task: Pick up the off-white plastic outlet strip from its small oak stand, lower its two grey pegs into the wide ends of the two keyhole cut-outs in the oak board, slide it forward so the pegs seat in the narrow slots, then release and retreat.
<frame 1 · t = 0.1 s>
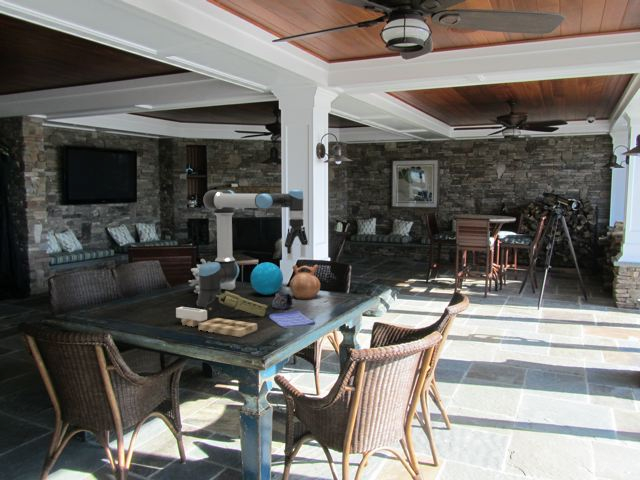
hand: (296, 258, 285), 28 cm above the table, tool pointing down, fingers open, 13 cm apart
stand: (191, 324, 256), on the table
rock: (282, 308, 292), on the table
strip: (191, 323, 256), resting on stand
jug: (305, 297, 320), on the table
board: (227, 330, 246), on the table
handgun: (234, 318, 270), on the table
decorative sphere: (267, 294, 328), on the table
dish towel: (291, 322, 263), on the table
abstract sculpture: (213, 292, 336), on the table
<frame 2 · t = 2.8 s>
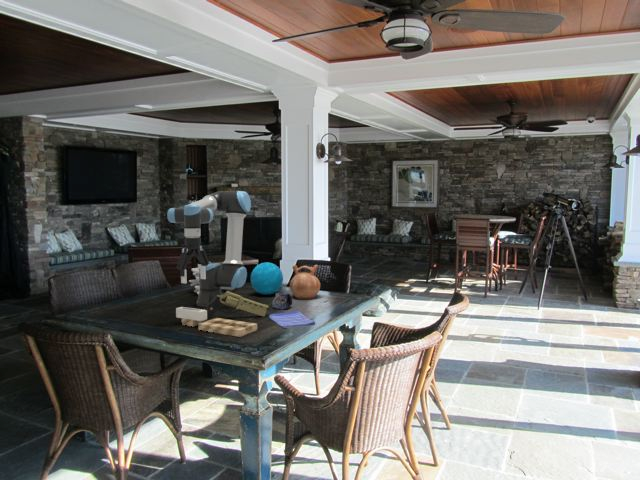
hand: (193, 281, 255), 21 cm above the table, tool pointing down, fingers open, 13 cm apart
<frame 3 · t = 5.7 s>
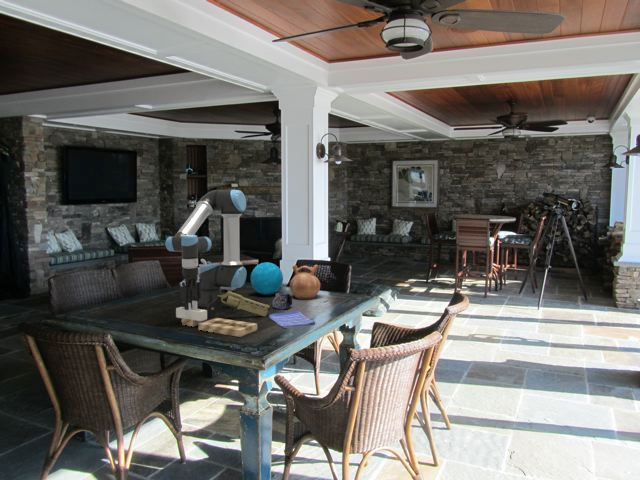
hand: (191, 315, 256), 5 cm above the table, tool pointing down, fingers closed on strip, 4 cm apart
strip: (191, 323, 256), resting on stand, touching gripper
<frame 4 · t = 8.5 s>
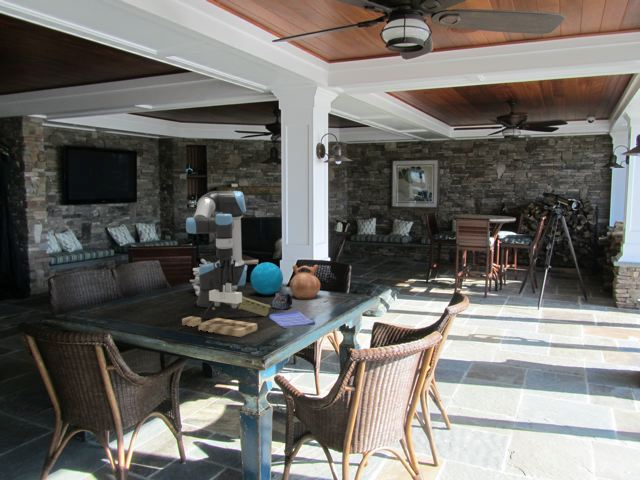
hand: (225, 297, 245), 15 cm above the table, tool pointing down, fingers closed on strip, 4 cm apart
strip: (225, 306, 245), point 11 cm above the table, touching gripper
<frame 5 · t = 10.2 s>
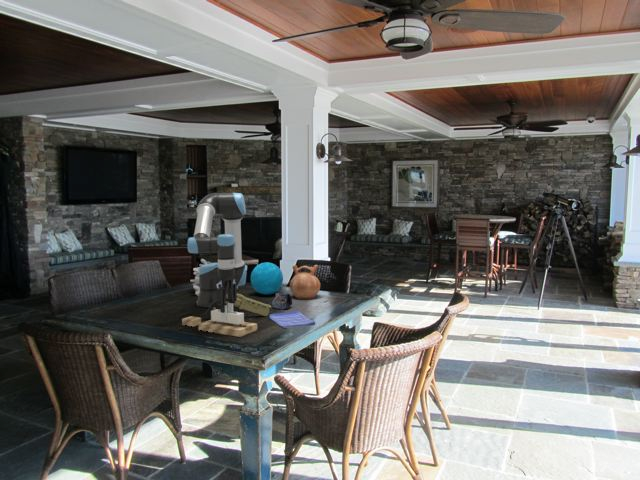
hand: (227, 318, 245), 6 cm above the table, tool pointing down, fingers closed on strip, 4 cm apart
strip: (227, 326, 246), point 2 cm above the table, touching gripper
when the fingers open (5 cm above the table, at t = 11.4 s): strip stays where it is, resting on board.
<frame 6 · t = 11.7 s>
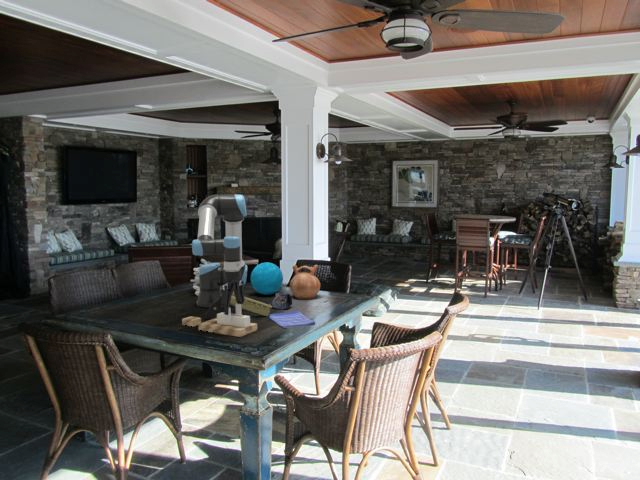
hand: (233, 319, 244), 5 cm above the table, tool pointing down, fingers open, 7 cm apart
strip: (233, 329, 244), resting on board
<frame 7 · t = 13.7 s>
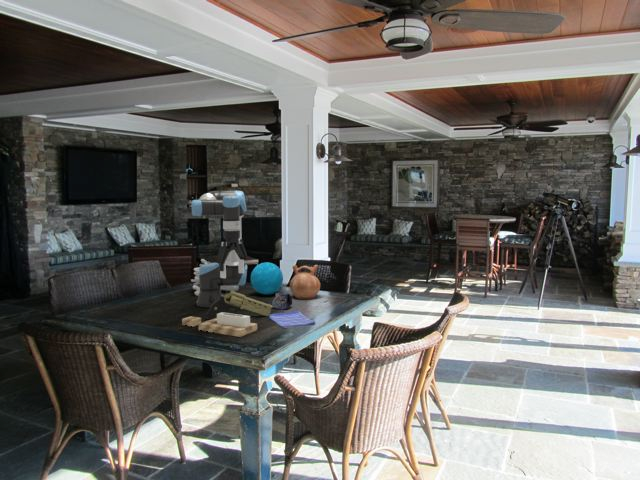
hand: (232, 275, 246), 25 cm above the table, tool pointing down, fingers open, 13 cm apart
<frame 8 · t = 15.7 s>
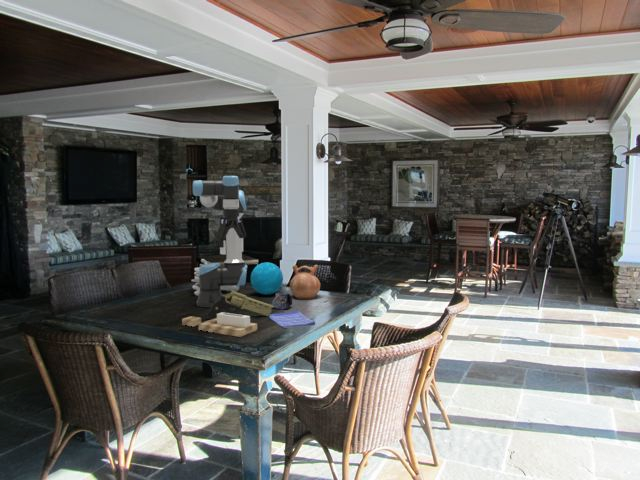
hand: (232, 252, 254), 35 cm above the table, tool pointing down, fingers open, 13 cm apart
at the end: strip 0.2 cm from the target spot on the board, point 0.5 cm above the board's base; strip tilted 0°; the gripper is holding nothing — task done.
